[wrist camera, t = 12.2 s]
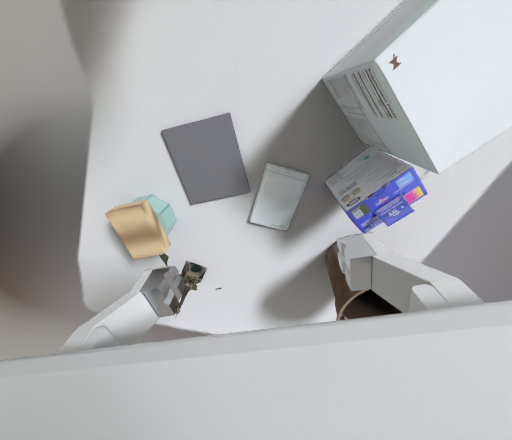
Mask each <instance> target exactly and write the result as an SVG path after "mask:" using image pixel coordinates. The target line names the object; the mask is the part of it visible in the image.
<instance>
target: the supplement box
mask: <svg viewBox="0 0 512 440" xmlns="http://www.w3.org/2000/svg"><path fill="white" fill-rule="evenodd" d="M322 80H323V81H324V83H325V85H326V86H327V88H328V90H329V91H330V93H331V95H332V96H333V98H334V99H335V101H336V103H337V104H338V106H339V107H340V109H341V110H342V112H343V113H344V115H345V116H346V118H347V120H348V121H349V123H350V124H351V126H352V127H353V129H354V130H355V132H356V133H357V135H358V137H359V138H360V140H361V141H362V142H363V143H365V144H368V145H370V146H373V147H375V148H377V149H380V150H382V151H384V152H387V153H389V154H391V155H393V156H396V157H398V158H400V159H403V160H405V161H408V162H410V163H413V164H415V165H417V166H420V167H422V168H424V169H427V170H429V171H432V172H434V173H437V174H440V173H442V172H443V171H445V170H446V169H448V168H449V167H451V166H453V165H454V164H456V163H457V162H459V161H460V160H462V159H463V158H465V157H467V156H468V155H470V154H471V153H473V152H474V151H476V150H477V149H479V148H480V147H482V146H483V145H485V144H487V143H488V142H490V141H491V140H493V139H494V138H496V137H497V136H499V135H500V134H502V133H503V132H505V131H506V130H508V129H509V128H511V127H512V0H404V1H403V2H402V3H401V4H400V5H399V6H398V7H397V8H396V9H395V10H394V11H392V12H391V13H390V14H389V15H388V16H387V17H386V18H385V19H384V20H383V21H382V22H381V23H380V24H379V25H378V26H377V27H376V28H374V29H373V30H372V31H371V32H370V33H369V34H368V35H367V36H366V37H365V38H364V39H363V40H362V41H361V42H360V43H359V44H357V45H356V46H355V47H354V48H353V49H352V50H351V51H350V52H349V53H348V54H347V55H346V56H345V57H344V58H343V59H342V60H341V61H339V62H338V63H337V64H336V65H335V66H334V67H333V68H332V69H331V70H330V71H329V72H328V73H327V74H326V75H325V76H323V78H322Z"/></svg>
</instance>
